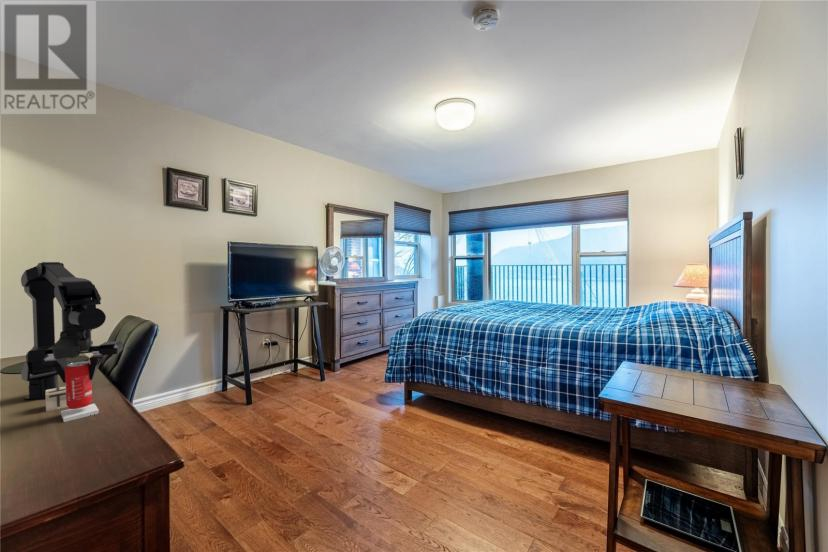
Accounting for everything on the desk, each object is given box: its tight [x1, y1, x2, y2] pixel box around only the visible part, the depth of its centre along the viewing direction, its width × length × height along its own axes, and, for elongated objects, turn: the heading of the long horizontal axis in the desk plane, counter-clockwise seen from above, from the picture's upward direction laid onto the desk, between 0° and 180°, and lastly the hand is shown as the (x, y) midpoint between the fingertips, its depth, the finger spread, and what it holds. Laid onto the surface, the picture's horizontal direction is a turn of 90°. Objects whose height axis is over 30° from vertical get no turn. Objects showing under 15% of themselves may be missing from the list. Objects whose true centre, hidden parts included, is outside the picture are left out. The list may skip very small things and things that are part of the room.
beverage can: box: [64, 360, 93, 409], centre depth 97 cm, size 5×5×12 cm
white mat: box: [60, 403, 100, 423], centre depth 97 cm, size 7×7×1 cm
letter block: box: [45, 386, 69, 412], centre depth 103 cm, size 5×5×5 cm
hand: (78, 381), depth 97 cm, fingers closed on beverage can, 5 cm apart
